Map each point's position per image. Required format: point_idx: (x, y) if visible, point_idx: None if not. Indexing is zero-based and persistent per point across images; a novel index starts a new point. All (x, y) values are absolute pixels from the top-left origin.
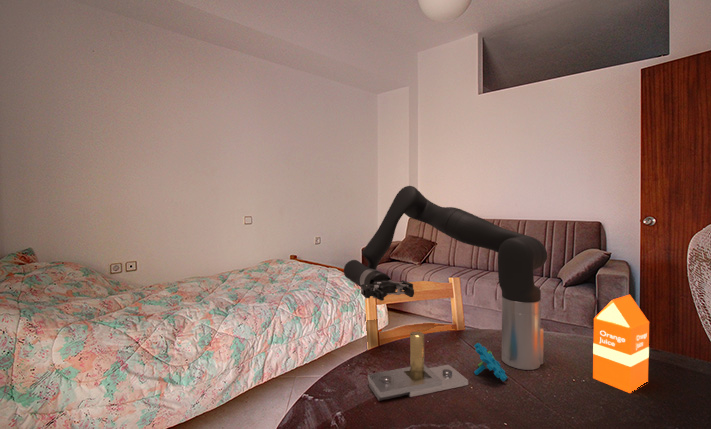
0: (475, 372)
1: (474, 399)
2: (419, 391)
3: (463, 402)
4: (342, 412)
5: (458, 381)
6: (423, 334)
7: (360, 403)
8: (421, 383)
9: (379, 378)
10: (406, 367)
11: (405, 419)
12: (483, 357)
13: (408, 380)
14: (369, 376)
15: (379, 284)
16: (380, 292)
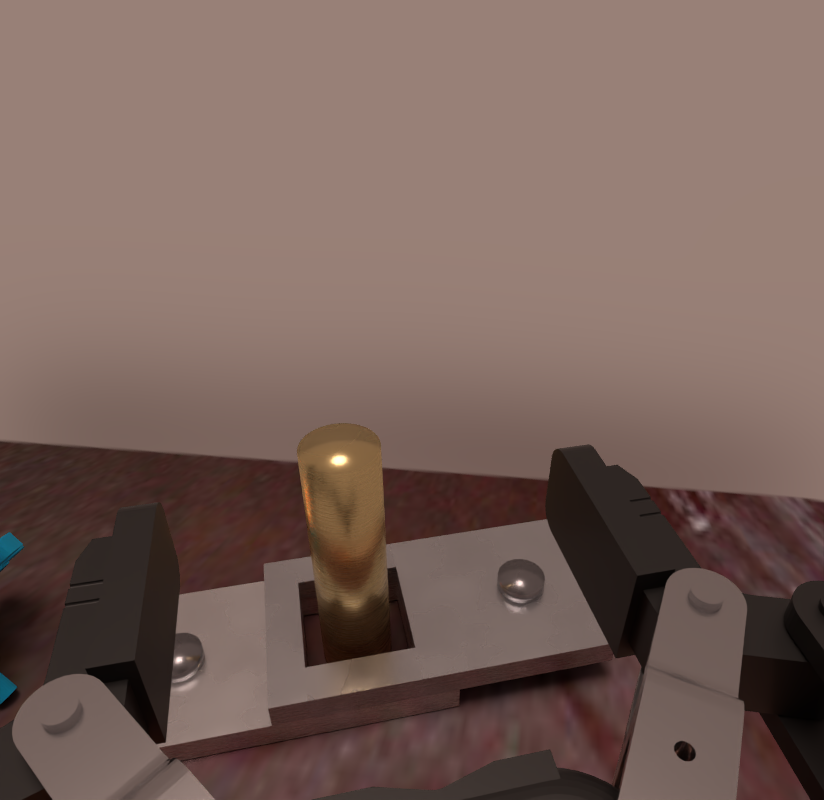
0: (10, 684)
1: (182, 539)
2: None
3: (234, 530)
4: (686, 524)
5: None
6: (302, 442)
7: None
8: None
9: (551, 602)
10: (387, 684)
11: (468, 483)
12: (8, 534)
13: (414, 575)
14: None
15: (638, 727)
16: (595, 454)
